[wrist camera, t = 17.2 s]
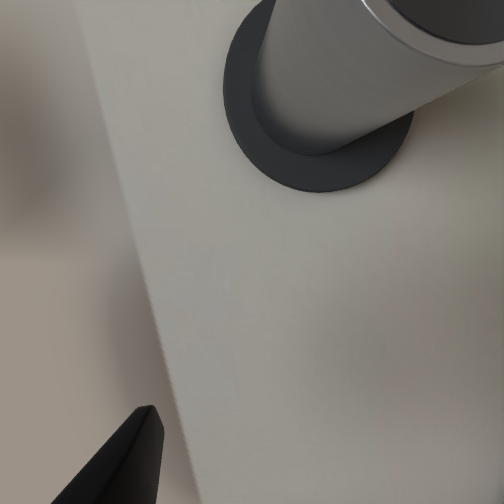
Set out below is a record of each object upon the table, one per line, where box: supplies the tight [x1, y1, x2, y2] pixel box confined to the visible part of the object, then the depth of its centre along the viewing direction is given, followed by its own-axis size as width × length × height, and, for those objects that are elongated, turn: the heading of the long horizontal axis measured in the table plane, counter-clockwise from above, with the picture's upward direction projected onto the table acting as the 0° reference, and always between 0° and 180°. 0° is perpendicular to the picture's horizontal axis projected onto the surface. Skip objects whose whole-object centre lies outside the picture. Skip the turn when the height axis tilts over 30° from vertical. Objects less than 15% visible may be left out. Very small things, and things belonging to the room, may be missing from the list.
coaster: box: [223, 0, 414, 193], centre depth 16 cm, size 10×10×1 cm
